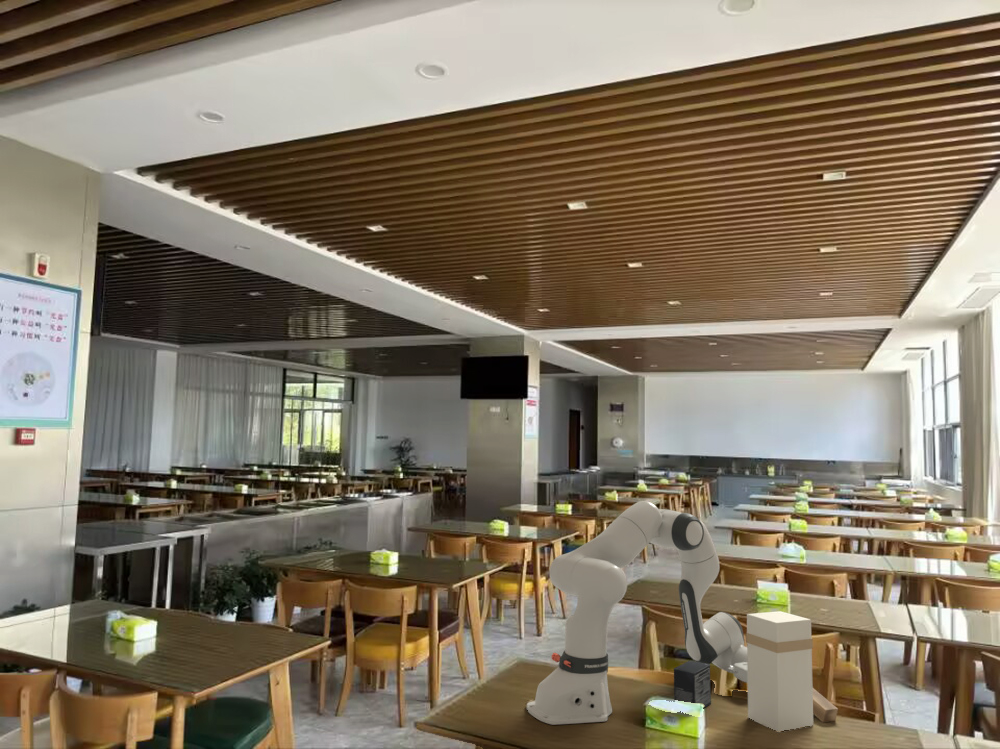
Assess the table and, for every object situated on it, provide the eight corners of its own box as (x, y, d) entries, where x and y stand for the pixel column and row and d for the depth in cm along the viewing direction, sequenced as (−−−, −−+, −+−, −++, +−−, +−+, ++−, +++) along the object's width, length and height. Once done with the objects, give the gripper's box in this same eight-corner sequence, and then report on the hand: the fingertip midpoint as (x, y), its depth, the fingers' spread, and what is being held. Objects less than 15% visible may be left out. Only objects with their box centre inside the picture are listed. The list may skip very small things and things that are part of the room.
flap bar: (822, 722, 176) (825, 709, 176) (773, 678, 194) (775, 667, 193) (835, 721, 177) (838, 708, 177) (784, 677, 195) (787, 666, 195)
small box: (689, 698, 191) (689, 659, 192) (711, 704, 187) (711, 664, 188) (672, 708, 183) (672, 667, 184) (695, 714, 179) (695, 672, 180)
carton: (778, 732, 168) (776, 623, 171) (747, 717, 178) (746, 614, 181) (814, 726, 173) (811, 619, 177) (782, 711, 183) (780, 611, 186)
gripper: (724, 656, 200) (760, 670, 187) (775, 650, 208) (813, 663, 196) (724, 679, 199) (760, 695, 187) (776, 672, 208) (814, 686, 195)
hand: (788, 678), depth 191 cm, fingers closed on flap bar, 4 cm apart
